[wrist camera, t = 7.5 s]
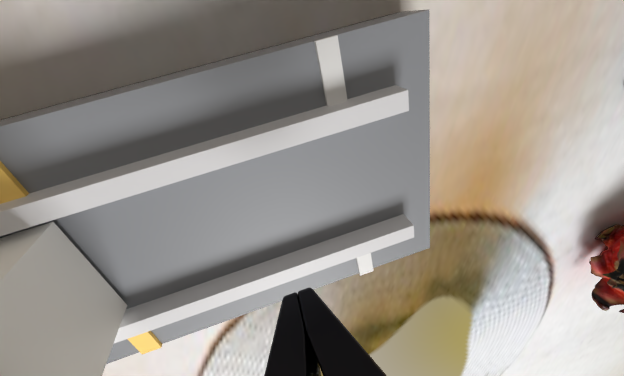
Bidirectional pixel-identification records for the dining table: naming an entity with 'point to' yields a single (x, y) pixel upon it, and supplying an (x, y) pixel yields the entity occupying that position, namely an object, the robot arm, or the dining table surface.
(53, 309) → the fader knob
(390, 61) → the fader console
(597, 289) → the dragon fruit
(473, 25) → the dining table surface
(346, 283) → the dining table surface
